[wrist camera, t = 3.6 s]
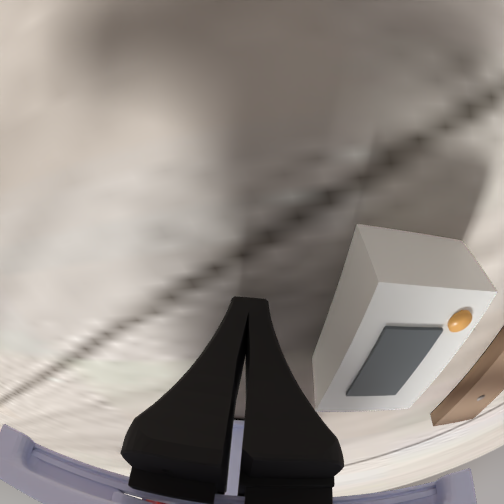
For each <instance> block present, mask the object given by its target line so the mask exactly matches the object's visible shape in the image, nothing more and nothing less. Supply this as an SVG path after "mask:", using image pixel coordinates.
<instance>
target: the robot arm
mask: <svg viewBox="0 0 504 504" xmlns="http://www.w3.org/2000/svg"><path fill="white" fill-rule="evenodd" d="M245 355H246V410H245V421H242V420H234V412H235V405H236V399H237V394H238V389H239V384H240V379H241V375H242V370H243V365H244V360H245ZM121 455H122V456H123V458H124V459H125V460H126V461H127V462H128V463H129V464H130V465H131V466H132V470H131V474H130V477H128V476H124V475H121V474H117V473H114V472H110V471H107V470H104V469H101V468H98V467H95V466H92V465H89V464H86V463H83V462H80V461H78V460H75V459H72V458H70V457H67V456H65V455H62V454H60V453H57V452H55V451H52V450H50V449H48V448H45V447H43V446H41V445H39V444H37V443H35V442H34V441H33V440H32V439H31V438H30V437H28V436H27V435H25V434H24V433H22V432H20V431H18V430H16V429H14V428H12V427H10V426H8V425H6V424H3V427H2V429H1V431H0V479H1V480H3V481H4V482H6V483H7V484H9V485H11V486H12V487H14V488H16V489H17V490H19V491H21V492H23V493H25V494H26V495H28V496H30V497H32V498H33V499H35V500H37V501H39V502H41V503H43V504H153V503H151V502H147V501H144V500H141V499H138V498H135V497H132V496H129V495H133V496H137V497H141V498H144V499H149V500H153V501H157V502H162V503H166V504H477V501H476V495H475V489H474V483H473V478H472V473H471V469H470V468H468V469H464V470H461V471H458V472H454V473H451V474H448V475H445V476H443V477H441V478H439V479H438V480H437V481H435V482H431V483H426V484H422V485H418V486H412V487H407V488H402V489H396V490H390V491H384V492H377V493H370V494H362V495H352V496H341V497H332V487H334V476H335V475H336V474H337V473H338V472H340V471H341V470H342V469H343V467H344V459H343V454H342V450H341V447H340V444H339V441H338V439H337V437H336V436H335V435H334V434H333V433H332V432H331V430H330V429H329V428H328V427H327V426H326V424H325V423H324V422H323V421H322V419H321V418H320V417H319V415H318V414H317V413H316V411H315V410H314V409H313V407H312V406H311V404H310V403H309V401H308V400H307V398H306V397H305V395H304V394H303V392H302V390H301V389H300V387H299V385H298V384H297V382H296V380H295V378H294V376H293V374H292V372H291V371H290V368H289V366H288V364H287V362H286V360H285V358H284V355H283V353H282V351H281V348H280V345H279V343H278V340H277V337H276V334H275V331H274V328H273V324H272V321H271V316H270V312H269V305H268V301H267V300H266V299H258V298H247V297H236V296H235V297H233V298H232V300H231V303H230V305H229V308H228V310H227V312H226V314H225V316H224V318H223V320H222V322H221V324H220V326H219V327H218V329H217V331H216V333H215V334H214V336H213V338H212V339H211V341H210V342H209V343H208V345H207V346H206V348H205V349H204V351H203V352H202V354H201V355H200V356H199V358H198V359H197V360H196V361H195V363H194V364H193V365H192V366H191V368H190V369H189V370H188V371H187V372H186V373H185V374H184V375H183V377H182V378H181V379H180V380H179V381H178V382H177V383H176V384H175V385H174V386H173V387H172V388H171V389H170V390H169V391H168V392H167V393H165V394H164V395H163V396H162V397H161V398H160V399H159V400H158V401H157V402H155V403H154V404H153V405H152V406H150V407H149V408H148V409H146V410H145V411H144V412H143V413H141V414H140V415H139V416H137V417H136V418H135V419H134V420H133V422H132V424H131V425H130V427H129V429H128V431H127V434H126V436H125V439H124V442H123V446H122V450H121ZM124 493H126V494H129V495H126V494H124Z"/></svg>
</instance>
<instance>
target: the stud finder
mask: <svg viewBox="0 0 504 504" xmlns="http://www.w3.org/2000/svg"><path fill="white" fill-rule="evenodd" d="M496 294H497V290H496V288H495V287H494V285H493V284H492V282H491V281H490V279H489V278H488V276H487V275H486V273H485V272H484V270H483V269H482V267H481V266H480V264H479V263H478V261H477V260H476V259H475V257H474V256H473V254H472V253H471V252H470V250H469V249H468V247H467V246H466V245H465V243H464V242H463V241H462V240H457V239H451V238H446V237H440V236H434V235H428V234H422V233H415V232H409V231H403V230H396V229H390V228H383V227H376V226H369V225H362V224H356V228H355V231H354V235H353V238H352V242H351V245H350V248H349V251H348V255H347V258H346V261H345V264H344V268H343V271H342V274H341V277H340V280H339V283H338V286H337V289H336V292H335V295H334V298H333V301H332V304H331V307H330V310H329V312H328V315H327V318H326V321H325V324H324V326H323V329H322V332H321V335H320V337H319V340H318V343H317V345H316V348H315V351H314V353H313V356H312V365H313V381H314V399H315V411H318V412H353V411H381V410H397V409H409V408H410V407H411V406H412V404H413V403H414V402H415V401H416V400H417V399H418V398H419V397H420V396H421V395H422V394H423V392H424V391H425V390H426V389H427V388H428V387H429V386H430V385H431V383H432V382H433V381H434V380H435V379H436V377H437V376H438V375H439V374H440V373H441V371H442V370H443V369H444V368H445V367H446V365H447V364H448V363H449V362H450V360H451V359H452V358H453V356H454V355H455V354H456V353H457V351H458V350H459V349H460V347H461V346H462V345H463V343H464V342H465V340H466V339H467V338H468V336H469V335H470V334H471V332H472V331H473V329H474V328H475V326H476V325H477V323H478V322H479V321H480V319H481V318H482V316H483V315H484V313H485V311H486V310H487V308H488V307H489V305H490V304H491V302H492V300H493V299H494V297H495V296H496Z"/></svg>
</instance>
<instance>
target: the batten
mask: <svg viewBox="0 0 504 504" xmlns="http://www.w3.org/2000/svg"><path fill="white" fill-rule="evenodd" d="M503 390H504V326H503V328H502V329H501V331H500V332H499V334H498V335H497V336H496V338H495V339H494V341H493V342H492V343H491V345H490V346H489V347H488V349H487V350H486V351H485V353H484V354H483V355H482V356H481V358H480V359H479V360H478V361H477V363H476V364H475V365H474V366H473V368H472V369H471V370H470V371H469V372H468V374H467V375H466V376H465V377H464V378H463V379H462V381H461V382H460V383H459V384H458V385H457V386H456V387H455V389H454V390H453V391H452V392H451V393H450V394H449V395H448V396H447V397H446V398H445V399H444V401H443V402H442V403H441V404H440V405H439V406H438V407H437V408H436V409H435V410H434V411H433V412H432V413H431V414H430V415H431V419H432V423H433V426H438V425H444V424H449V423H455V422H460V421H464V420H469V419H473V418H474V417H476V416H477V415H478V414H479V413H480V412H481V411H482V410H483V409H484V408H485V407H486V406H487V405H488V404H490V403H491V402H492V401H493V400H494V399H495V398H496V397H497V396H498V395H499V394H500V393H501V392H502V391H503Z"/></svg>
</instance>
